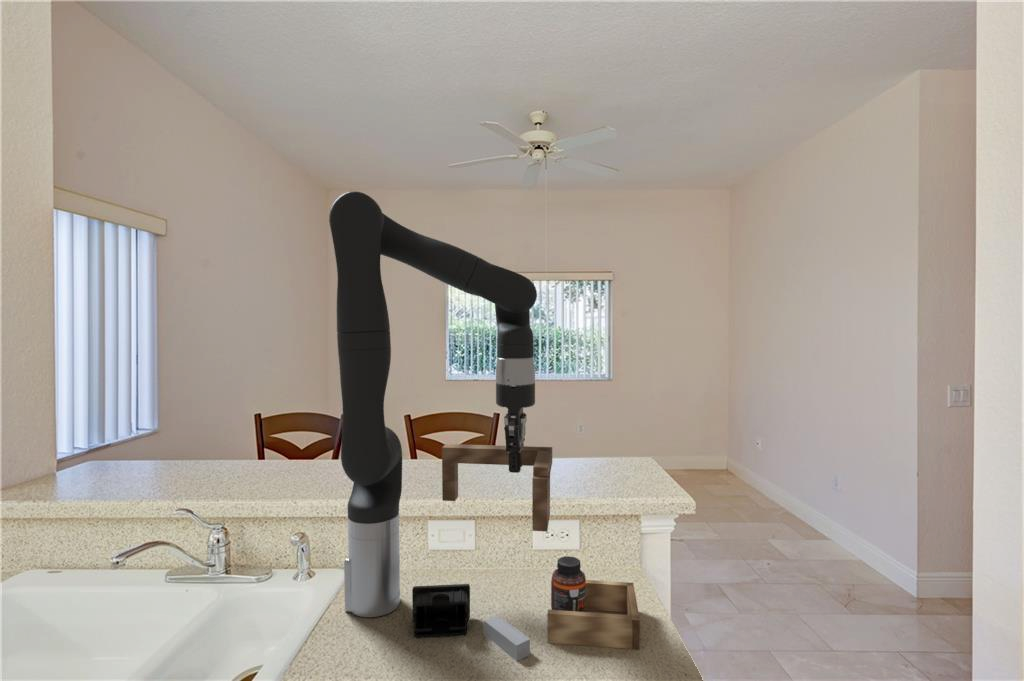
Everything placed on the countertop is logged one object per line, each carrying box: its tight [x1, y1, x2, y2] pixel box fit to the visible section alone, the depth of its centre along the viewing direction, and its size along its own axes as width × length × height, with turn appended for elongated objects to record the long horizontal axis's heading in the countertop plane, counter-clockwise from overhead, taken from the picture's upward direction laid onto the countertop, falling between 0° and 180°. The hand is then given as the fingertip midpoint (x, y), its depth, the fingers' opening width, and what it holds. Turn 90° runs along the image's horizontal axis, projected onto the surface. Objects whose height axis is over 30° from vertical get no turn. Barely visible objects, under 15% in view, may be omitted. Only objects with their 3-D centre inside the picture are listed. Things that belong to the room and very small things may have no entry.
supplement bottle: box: [550, 555, 587, 612], centre depth 100 cm, size 6×6×11 cm
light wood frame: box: [546, 578, 641, 650], centre depth 99 cm, size 15×12×5 cm
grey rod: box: [483, 614, 531, 662], centre depth 94 cm, size 9×3×3 cm, turn 37°
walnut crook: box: [441, 443, 553, 532], centre depth 104 cm, size 21×16×10 cm
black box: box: [411, 583, 471, 640], centre depth 99 cm, size 10×7×7 cm
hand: (515, 469), depth 110 cm, fingers closed on walnut crook, 2 cm apart
